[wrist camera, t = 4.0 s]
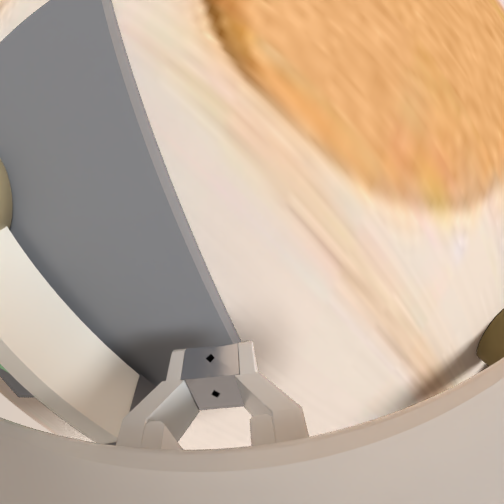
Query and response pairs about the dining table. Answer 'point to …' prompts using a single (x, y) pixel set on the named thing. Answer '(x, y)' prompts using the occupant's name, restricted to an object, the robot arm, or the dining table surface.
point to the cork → (492, 341)
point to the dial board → (100, 191)
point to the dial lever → (58, 346)
